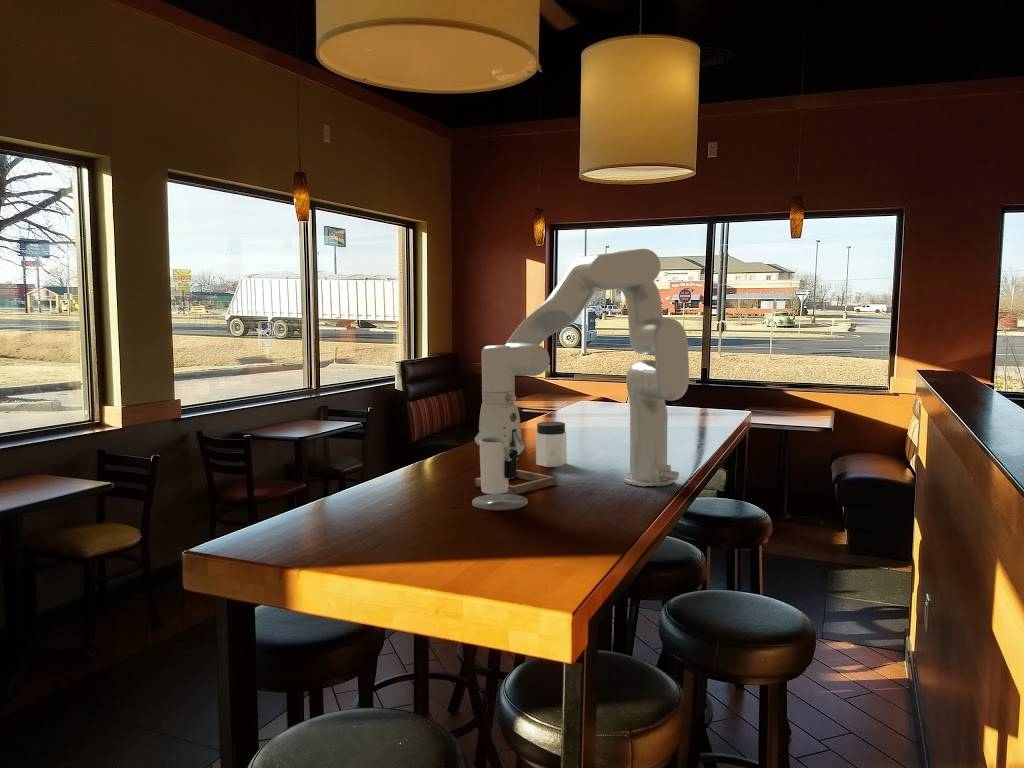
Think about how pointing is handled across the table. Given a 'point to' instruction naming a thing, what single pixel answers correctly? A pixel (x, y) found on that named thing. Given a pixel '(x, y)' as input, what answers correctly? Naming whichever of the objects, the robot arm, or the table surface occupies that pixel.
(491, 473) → the mug
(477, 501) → the grey round disc
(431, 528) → the table surface
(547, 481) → the corral
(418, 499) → the table surface
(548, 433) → the jar
